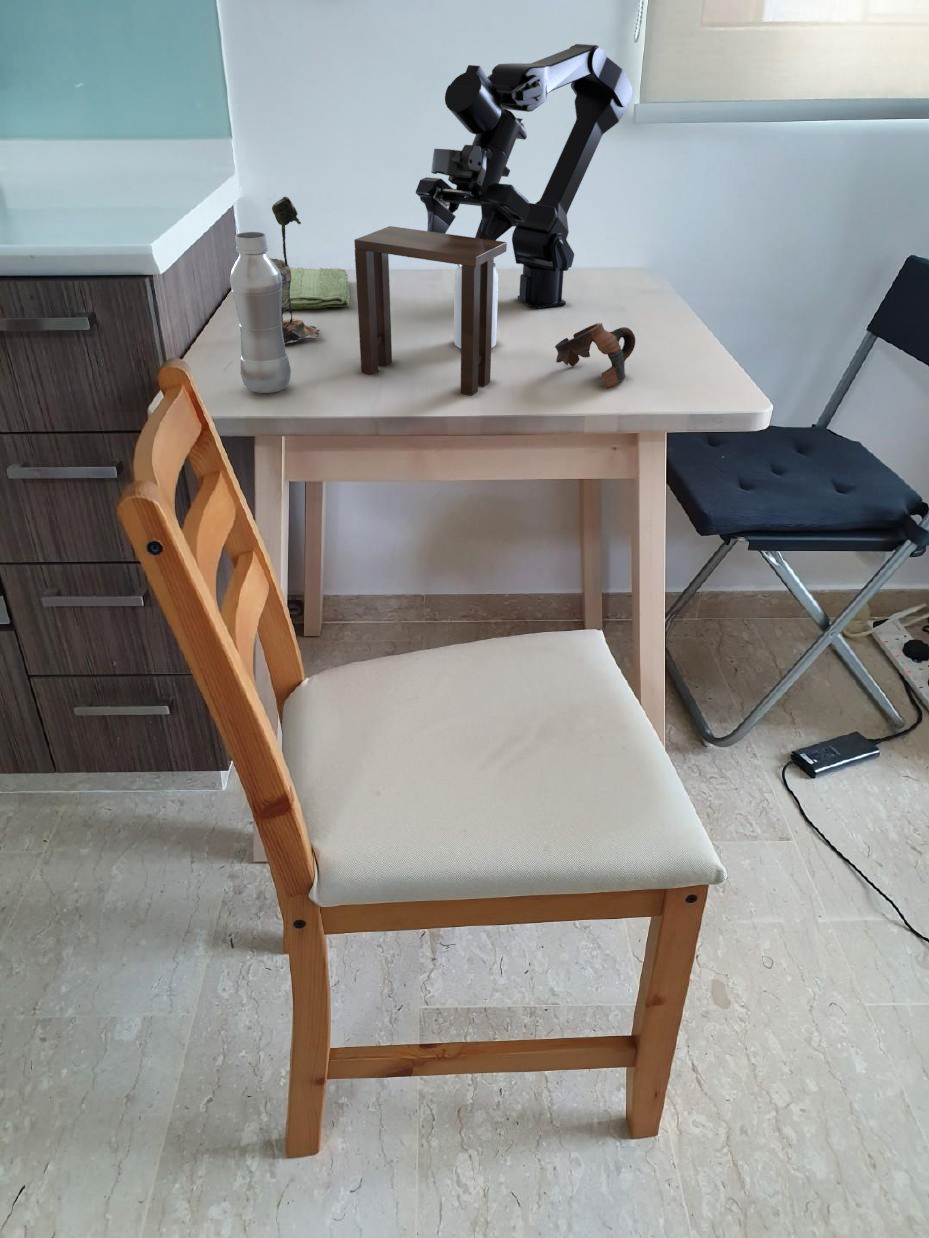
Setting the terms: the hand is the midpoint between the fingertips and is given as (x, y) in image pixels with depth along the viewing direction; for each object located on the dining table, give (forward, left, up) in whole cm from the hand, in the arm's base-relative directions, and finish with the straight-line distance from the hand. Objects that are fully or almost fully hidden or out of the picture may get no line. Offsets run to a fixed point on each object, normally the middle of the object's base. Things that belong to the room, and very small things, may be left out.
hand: (450, 254), depth 137 cm
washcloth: (+14, -29, -13) cm, 35 cm away
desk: (+8, +13, -13) cm, 20 cm away
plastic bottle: (+31, +11, -13) cm, 35 cm away
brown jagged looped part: (-14, +22, -13) cm, 29 cm away
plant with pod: (+24, -9, -13) cm, 29 cm away
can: (-2, +4, -13) cm, 14 cm away
